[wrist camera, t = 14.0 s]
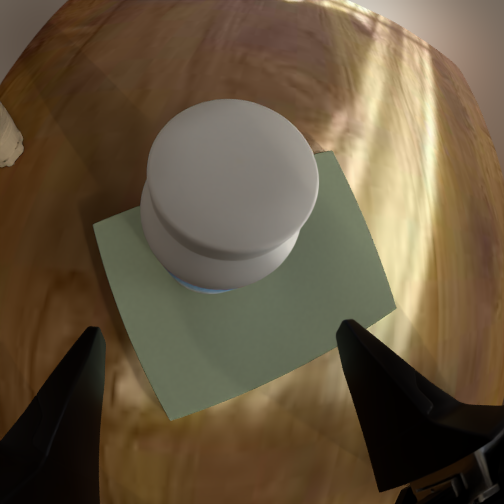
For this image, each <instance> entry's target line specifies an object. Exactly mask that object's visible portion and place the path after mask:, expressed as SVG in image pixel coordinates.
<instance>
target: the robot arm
mask: <svg viewBox="0 0 504 504" xmlns="http://www.w3.org/2000/svg"><path fill="white" fill-rule="evenodd" d="M336 341H337V345H338V350H339V354H340V359H341V364H342V368H343V372H344V375H345V378H346V381H347V384H348V387H349V390H350V393H351V396H352V400H353V403H354V406H355V409H356V412H357V416H358V419H359V422H360V425H361V429H362V432H363V435H364V439H365V442H366V446H367V449H368V453H369V457H370V460H371V464H372V468H373V471H374V475H375V479H376V483H377V487H378V490H379V492H383V491H387V490H390V489H393V488H396V487H399V486H402V485H404V484H407V483H410V485H409V486H408V487H406V488H404V489H402V490H401V491H400V494H399V496H398V498H397V500H396V502H395V504H504V405H503V406H489V405H469V404H464V403H461V402H459V401H457V400H456V399H454V398H453V397H451V396H450V395H448V394H447V393H445V392H444V391H442V390H441V389H440V388H438V387H437V386H435V385H434V384H433V383H431V382H430V381H429V380H427V379H426V378H425V377H424V376H422V375H421V374H420V373H419V372H417V371H415V369H414V368H413V367H411V366H410V365H409V364H408V363H407V362H405V361H404V360H403V359H402V358H400V357H399V356H398V355H397V354H396V353H394V352H393V351H392V350H391V349H390V348H388V347H387V346H386V345H385V344H383V343H382V342H381V341H380V340H379V339H377V338H376V337H375V336H374V335H372V334H371V333H370V332H369V331H368V330H366V329H365V328H364V327H363V326H361V325H360V324H359V323H358V322H357V321H355V320H354V319H345V320H343V321H342V322H341V324H340V326H339V328H338V330H337V332H336ZM105 351H106V343H105V340H104V337H103V335H102V332H101V330H100V328H99V327H93V326H89V327H88V328H87V329H86V330H85V331H84V332H83V333H82V335H81V336H80V337H79V338H78V340H77V341H76V342H75V343H74V345H73V346H72V347H71V349H70V350H69V351H68V352H67V354H66V355H65V356H64V358H63V359H62V360H61V361H60V363H59V364H58V365H57V367H56V368H55V369H54V371H53V372H52V374H51V375H50V376H49V378H48V379H47V380H46V382H45V383H44V385H43V386H42V387H41V389H40V390H39V392H38V393H37V396H35V397H34V399H33V400H32V402H31V403H30V404H29V406H28V407H27V409H26V410H25V411H24V413H23V414H22V415H21V416H20V418H19V419H18V420H17V422H16V423H15V424H14V425H13V426H12V428H11V429H10V430H9V431H8V432H7V434H6V435H5V436H4V437H3V439H2V440H1V441H0V504H100V497H99V442H100V425H101V412H102V402H103V393H104V382H105Z"/></svg>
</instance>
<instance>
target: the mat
mask: <svg viewBox="0 0 504 504" xmlns="http://www.w3.org/2000/svg"><path fill="white" fill-rule="evenodd" d="M314 157H315V160H316V163H317V168H318V174H319V189H318V195H317V199H316V203H315V206H314V208H313V210H312V212H311V214H310V216H309V218H308V219H307V221H306V222H305V224H304V225H303V226H302V227H301V228H300V232H299V235H298V238H297V240H296V243H295V245H294V247H293V248H292V250H291V252H290V253H289V255H288V256H287V258H286V259H285V260H284V261H283V262H282V264H281V265H280V266H279V267H278V268H277V269H275V270H274V271H273V272H272V273H270V274H269V275H267V276H266V277H264V278H263V279H261V280H259V281H257V282H255V283H252V284H250V285H247V286H244V287H240V288H237V289H233V290H230V291H226V292H223V293H218V294H202V293H197V292H194V291H191V290H189V289H187V288H185V287H184V286H182V285H181V284H179V283H178V282H177V281H176V280H175V279H174V278H173V277H172V276H171V275H170V274H169V273H168V272H167V270H166V269H165V268H164V266H163V265H162V264H161V263H160V262H159V260H158V259H157V258H156V256H155V255H154V253H153V252H152V250H151V249H150V247H149V245H148V242H147V240H146V238H145V235H144V232H143V229H142V224H141V217H140V206H138V207H135V208H132V209H130V210H127V211H125V212H122V213H119V214H117V215H114V216H112V217H109V218H107V219H105V220H102V221H100V222H97V223H95V224H93V228H94V232H95V236H96V240H97V244H98V247H99V251H100V254H101V258H102V261H103V265H104V268H105V271H106V275H107V278H108V281H109V284H110V287H111V290H112V293H113V296H114V299H115V302H116V304H117V307H118V310H119V313H120V315H121V318H122V320H123V323H124V326H125V328H126V331H127V333H128V335H129V338H130V340H131V343H132V345H133V347H134V350H135V352H136V354H137V356H138V359H139V361H140V363H141V365H142V367H143V370H144V372H145V374H146V376H147V378H148V380H149V382H150V384H151V386H152V388H153V390H154V392H155V394H156V396H157V398H158V400H159V401H160V403H161V405H162V407H163V409H164V411H165V412H166V414H167V416H168V418H169V420H170V421H171V420H174V419H177V418H180V417H183V416H186V415H189V414H192V413H195V412H198V411H200V410H203V409H206V408H209V407H211V406H214V405H216V404H219V403H222V402H224V401H227V400H229V399H231V398H234V397H236V396H239V395H241V394H243V393H246V392H248V391H250V390H253V389H255V388H257V387H259V386H261V385H264V384H266V383H268V382H270V381H272V380H274V379H276V378H279V377H281V376H283V375H285V374H287V373H289V372H291V371H293V370H295V369H297V368H299V367H300V366H302V365H304V364H306V363H308V362H310V361H312V360H314V359H316V358H317V357H319V356H321V355H323V354H325V353H326V352H328V351H330V350H332V349H333V348H335V347H337V346H338V345H337V341H336V332H337V330H338V328H339V326H340V324H341V322H342V321H343V320H345V319H354V320H355V321H357V322H358V323H359V324H360V325H361V326H363V327H364V328H365V329H366V328H368V327H370V326H371V325H373V324H374V323H376V322H377V321H379V320H380V319H382V318H383V317H385V316H386V315H388V314H389V313H391V312H392V311H394V310H395V309H396V305H395V302H394V298H393V295H392V292H391V289H390V286H389V283H388V280H387V277H386V274H385V271H384V269H383V266H382V263H381V260H380V257H379V255H378V252H377V249H376V247H375V244H374V242H373V239H372V237H371V234H370V232H369V229H368V227H367V224H366V222H365V219H364V217H363V215H362V212H361V210H360V208H359V206H358V203H357V201H356V199H355V197H354V194H353V192H352V190H351V188H350V186H349V184H348V181H347V179H346V177H345V175H344V173H343V171H342V169H341V167H340V165H339V163H338V161H337V159H336V157H335V155H334V153H333V151H327V152H322V153H317V154H314Z"/></svg>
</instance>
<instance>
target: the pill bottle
mask: <svg viewBox="0 0 504 504" xmlns="http://www.w3.org/2000/svg"><path fill="white" fill-rule="evenodd" d="M318 189H319V174H318V168H317V163H316V160H315V157H314V154H313V152H312V150H311V148H310V146H309V144H308V142H307V141H306V139H305V138H304V137H303V135H302V134H301V133H300V132H299V130H298V129H297V128H296V127H295V126H294V125H293V124H292V123H290V122H289V121H288V120H287V119H286V118H284V117H283V116H281V115H280V114H278V113H277V112H275V111H273V110H271V109H269V108H267V107H264V106H262V105H259V104H256V103H253V102H250V101H245V100H237V99H219V100H212V101H207V102H203V103H199V104H197V105H194V106H192V107H190V108H187V109H186V110H184V111H182V112H181V113H179V114H177V115H176V116H175V117H174V118H172V119H171V120H170V121H169V122H168V123H167V124H166V125H165V126H164V127H163V128H162V130H161V131H160V132H159V134H158V135H157V137H156V139H155V141H154V142H153V145H152V147H151V150H150V153H149V156H148V162H147V180H146V182H145V185H144V188H143V191H142V196H141V203H140V217H141V224H142V229H143V232H144V235H145V238H146V240H147V242H148V245H149V247H150V249H151V250H152V252H153V253H154V255H155V256H156V258H157V259H158V260H159V262H160V263H161V264H162V265H163V266H164V268H165V269H166V270H167V272H168V273H169V274H170V275H171V276H172V277H173V278H174V279H175V280H176V281H177V282H178V283H179V284H181V285H182V286H184V287H185V288H187V289H189V290H191V291H194V292H197V293H202V294H218V293H223V292H226V291H230V290H233V289H237V288H240V287H244V286H247V285H250V284H252V283H255V282H257V281H259V280H261V279H263V278H264V277H266V276H267V275H269V274H270V273H272V272H273V271H274V270H275V269H277V268H278V267H279V266H280V265H281V264H282V262H283V261H284V260H285V259H286V258H287V256H288V255H289V253H290V252H291V250H292V248H293V247H294V245H295V243H296V240H297V238H298V235H299V232H300V228H301V227H302V226H303V225H304V224H305V222H306V221H307V219H308V218H309V216H310V214H311V212H312V210H313V208H314V206H315V203H316V199H317V195H318Z"/></svg>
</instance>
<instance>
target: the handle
mask: <svg viewBox="0 0 504 504" xmlns="http://www.w3.org/2000/svg"><path fill="white" fill-rule="evenodd" d="M22 141H23V137H22V135H21V133H20V131H19V130H18V129H17V128H16V126H15V124H14V122H13V120H12V118H11V117H10V115H9V114H8V112H7V110H6V109H5V107H4V106H3V105H2V103H1V102H0V167H4V166H6V165H7V166H9V167H10V166H12V165H13V164H14V162H15V161H16V159H17V158H18V157H19V156H20V155H21V154H22V152H23V149H24V147H23V145H22Z"/></svg>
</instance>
